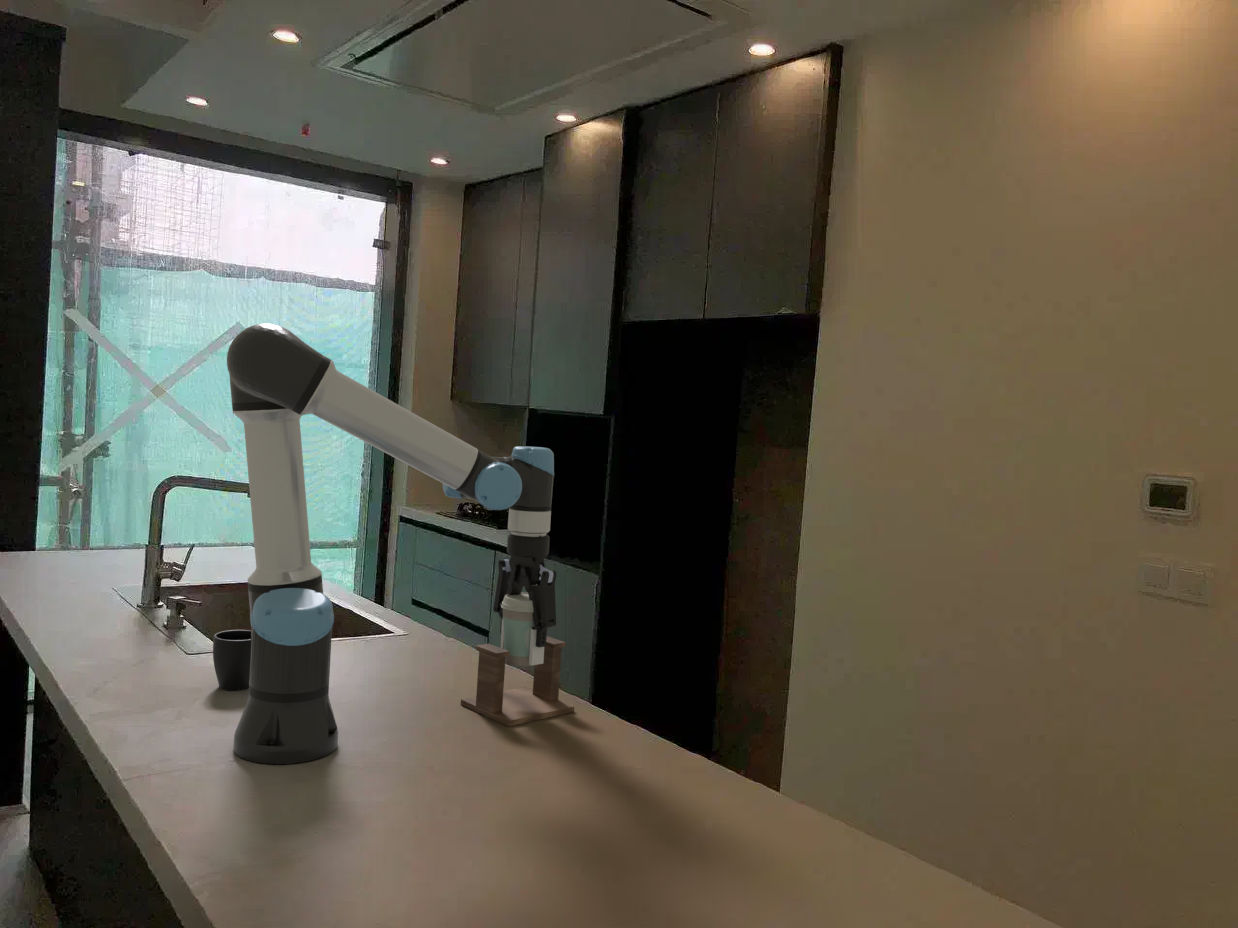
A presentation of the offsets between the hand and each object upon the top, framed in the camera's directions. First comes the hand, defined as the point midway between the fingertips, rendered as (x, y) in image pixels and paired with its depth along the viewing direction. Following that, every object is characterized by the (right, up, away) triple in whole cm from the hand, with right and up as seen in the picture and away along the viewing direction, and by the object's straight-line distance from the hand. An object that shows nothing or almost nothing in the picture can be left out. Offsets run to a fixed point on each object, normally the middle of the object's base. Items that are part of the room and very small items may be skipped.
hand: (521, 658), depth 176 cm
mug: (-51, -6, +3) cm, 51 cm away
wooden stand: (-1, -9, +1) cm, 9 cm away
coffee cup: (0, -1, 0) cm, 1 cm away
